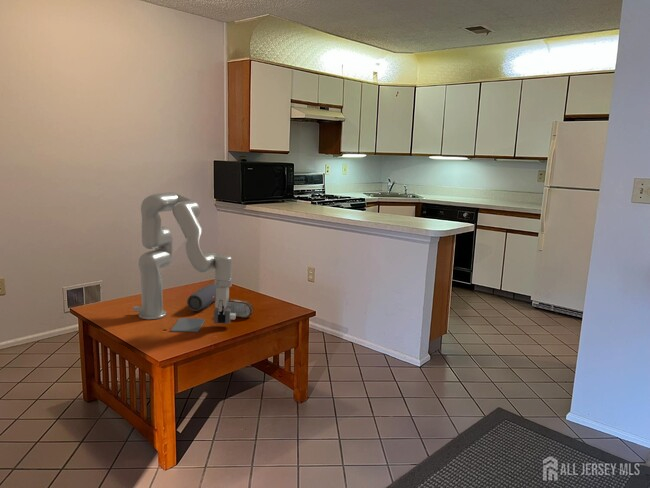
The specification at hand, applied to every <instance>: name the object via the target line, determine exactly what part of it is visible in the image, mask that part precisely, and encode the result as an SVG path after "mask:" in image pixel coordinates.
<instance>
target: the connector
mask: <svg viewBox="0 0 650 488" xmlns="http://www.w3.org/2000/svg"><path fill="white" fill-rule="evenodd" d="M218 310H219V307H218V308H215V307H214V311H213V324H219V323H218ZM222 310H223V309H222ZM236 318H237V317H236V313H231V309H228V308H225V323H221V324H227V325H230V323H231V321H232V320H234V321H235V320H236Z"/></svg>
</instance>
